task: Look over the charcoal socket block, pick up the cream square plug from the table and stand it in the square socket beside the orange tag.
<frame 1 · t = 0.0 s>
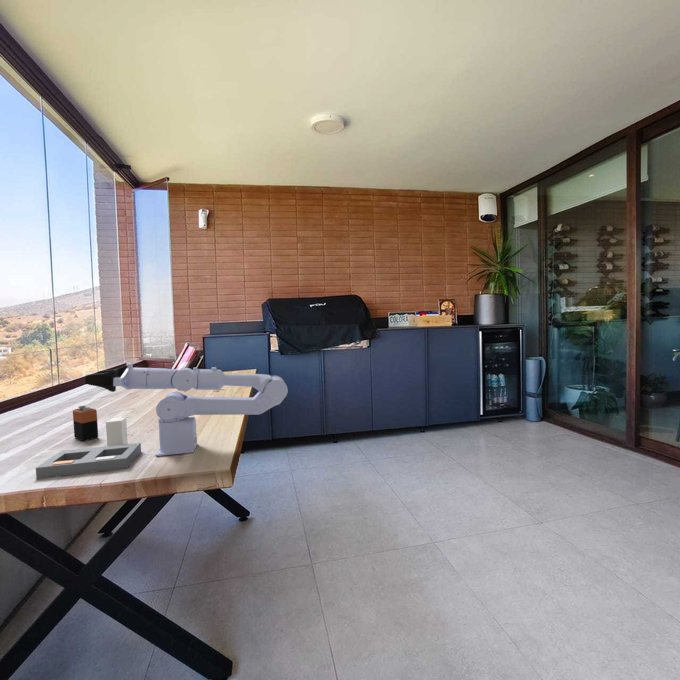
hand: (92, 377, 95), 22 cm above the table, tool horizontal, fingers open, 7 cm apart
socket block: (93, 463, 92), on the table
plug: (117, 446, 105), on the table
battery: (86, 438, 115), on the table
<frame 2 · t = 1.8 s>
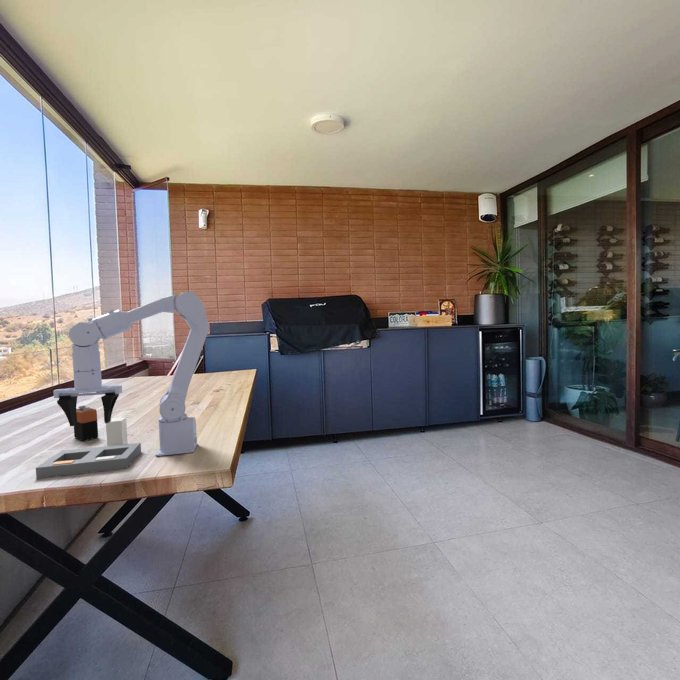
hand: (90, 423, 92), 10 cm above the table, tool pointing down, fingers open, 7 cm apart
nothing on the table moved.
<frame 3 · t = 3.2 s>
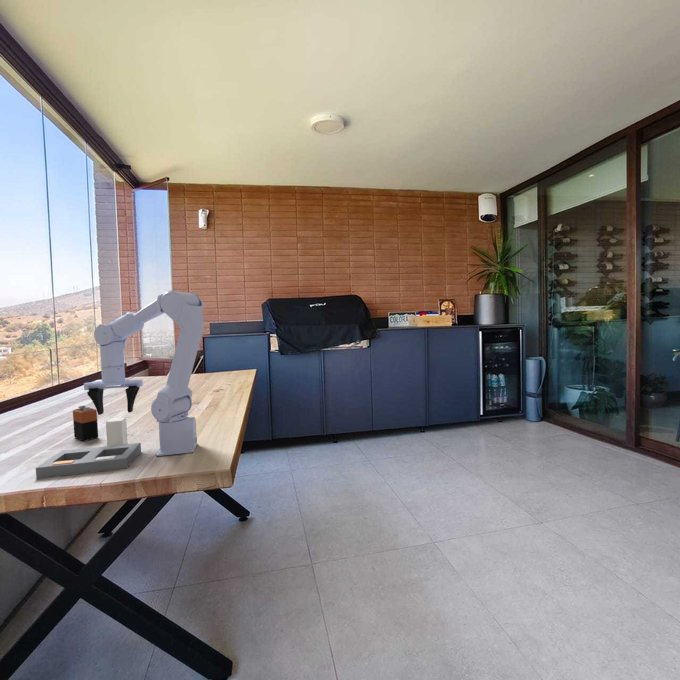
hand: (115, 412, 105), 10 cm above the table, tool pointing down, fingers open, 7 cm apart
nothing on the table moved.
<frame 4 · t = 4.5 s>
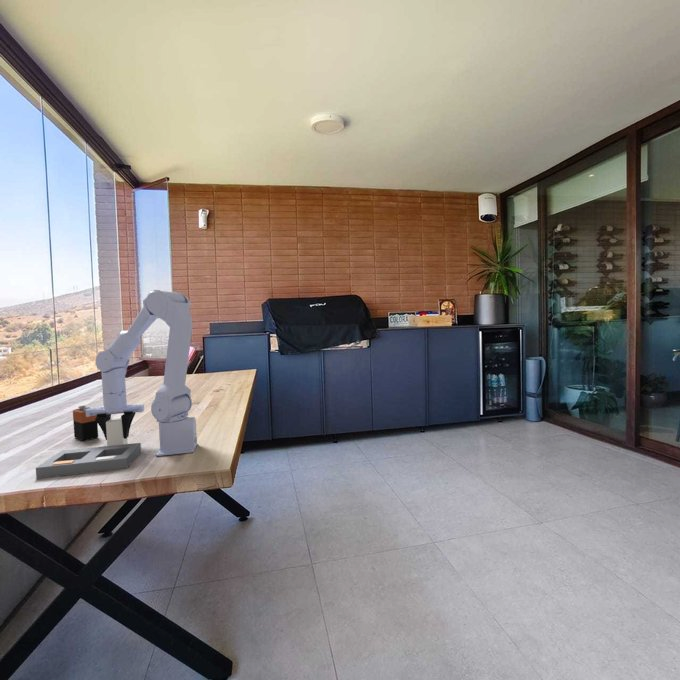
hand: (117, 438, 105), 2 cm above the table, tool pointing down, fingers closed on plug, 4 cm apart
plug: (117, 446, 105), on the table, touching gripper
everything else where it was.
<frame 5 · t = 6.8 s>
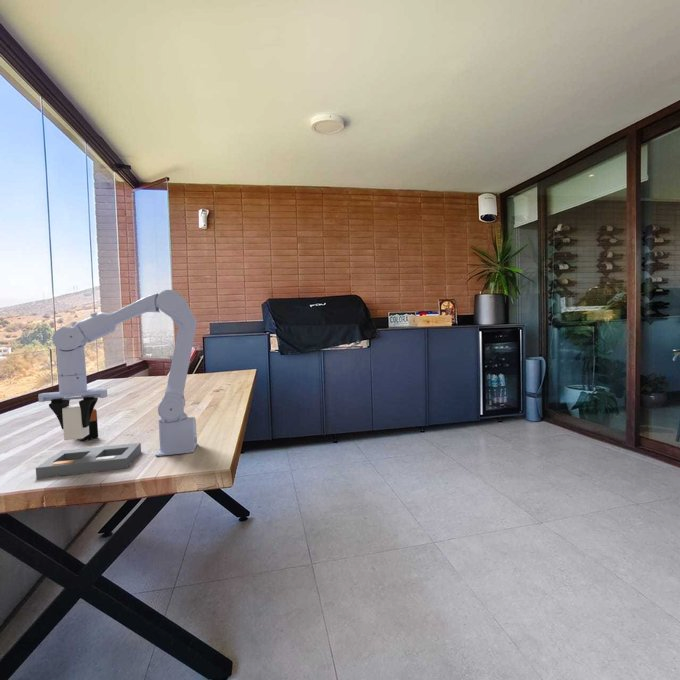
hand: (75, 427, 92), 9 cm above the table, tool pointing down, fingers closed on plug, 4 cm apart
plug: (77, 437, 93), point 7 cm above the table, touching gripper
everything else where it was.
when the fingers open (3 cm above the table, at t = 8.9 s): plug stays where it is, resting in socket block.
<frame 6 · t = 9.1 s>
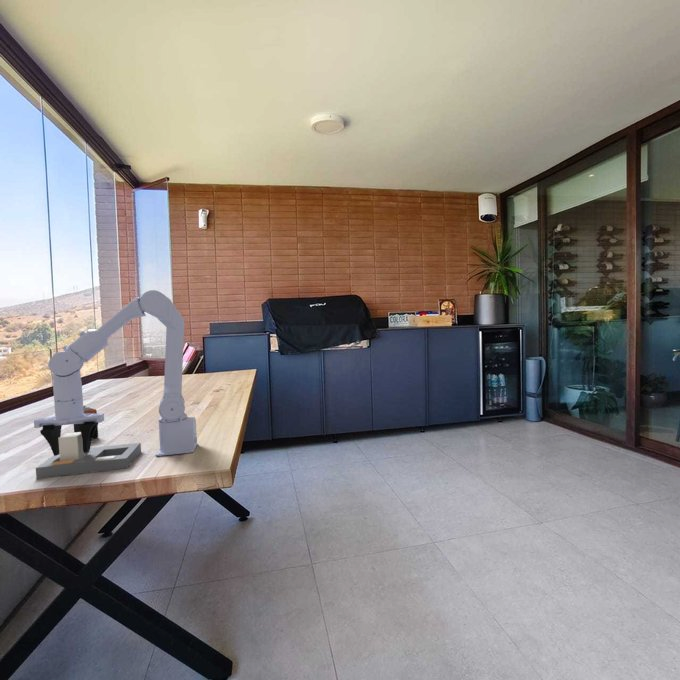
hand: (72, 452, 91), 3 cm above the table, tool pointing down, fingers open, 6 cm apart
plug: (73, 465, 92), resting in socket block
everything else where it was.
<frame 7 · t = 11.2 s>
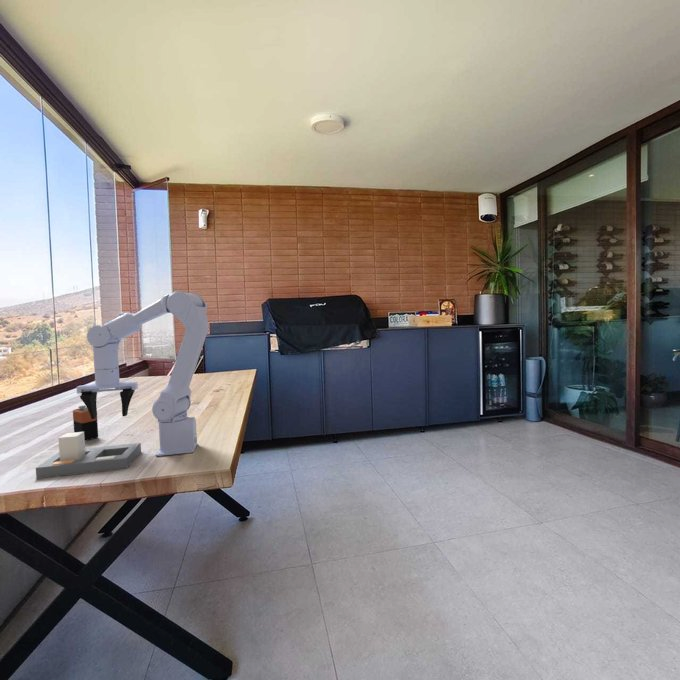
hand: (109, 416, 102), 10 cm above the table, tool pointing down, fingers open, 7 cm apart
nothing on the table moved.
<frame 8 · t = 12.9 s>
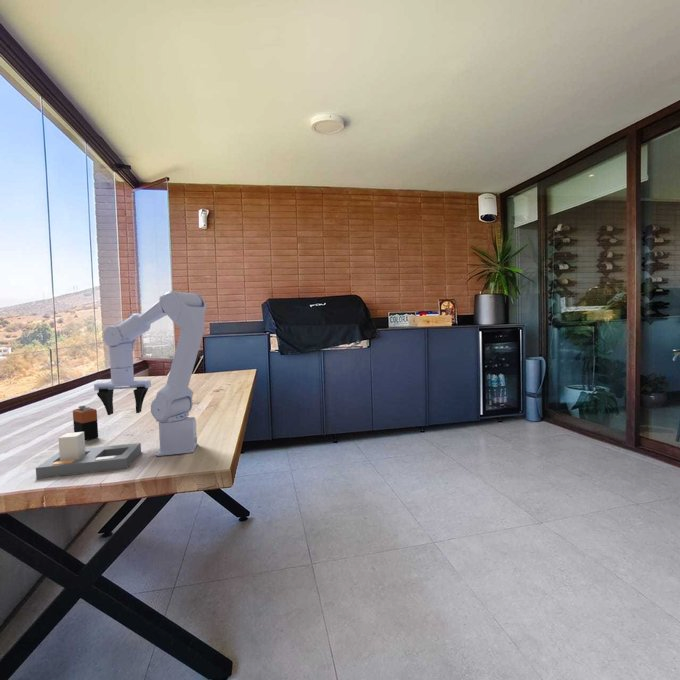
hand: (124, 413, 106), 9 cm above the table, tool pointing down, fingers open, 7 cm apart
nothing on the table moved.
at the end: plug 0.3 cm from the target spot on the socket block, point 0.0 cm above the socket block's base; plug tilted 0°; the gripper is holding nothing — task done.
